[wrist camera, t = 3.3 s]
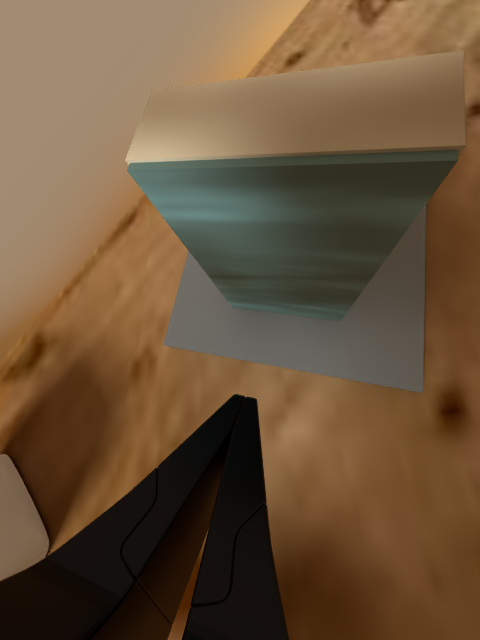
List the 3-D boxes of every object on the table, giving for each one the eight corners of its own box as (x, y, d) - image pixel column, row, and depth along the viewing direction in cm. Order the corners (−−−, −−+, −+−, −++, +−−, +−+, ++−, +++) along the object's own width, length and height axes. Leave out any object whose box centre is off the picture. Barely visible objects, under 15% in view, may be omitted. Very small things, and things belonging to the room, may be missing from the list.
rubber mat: (417, 392, 17) (423, 392, 16) (167, 346, 22) (163, 344, 21) (423, 129, 22) (427, 120, 21) (222, 141, 27) (220, 134, 26)
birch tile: (341, 321, 18) (466, 156, 5) (231, 307, 21) (122, 167, 7) (345, 282, 19) (463, 50, 6) (238, 273, 21) (151, 90, 8)
